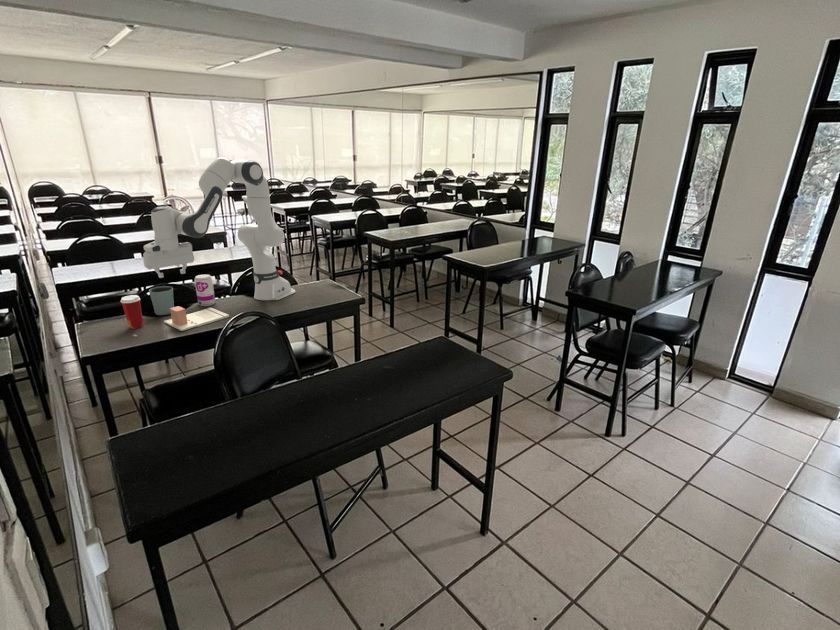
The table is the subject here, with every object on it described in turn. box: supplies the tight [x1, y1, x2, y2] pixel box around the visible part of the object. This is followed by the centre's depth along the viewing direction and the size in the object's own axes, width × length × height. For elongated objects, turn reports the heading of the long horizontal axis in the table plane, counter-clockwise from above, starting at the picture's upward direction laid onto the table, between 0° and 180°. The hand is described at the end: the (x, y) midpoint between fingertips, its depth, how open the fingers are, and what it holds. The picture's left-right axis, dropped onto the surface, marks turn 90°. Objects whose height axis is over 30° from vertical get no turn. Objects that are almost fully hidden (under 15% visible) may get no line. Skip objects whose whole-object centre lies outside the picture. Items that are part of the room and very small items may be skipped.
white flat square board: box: [186, 307, 230, 327], centre depth 221 cm, size 16×16×1 cm
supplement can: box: [194, 273, 216, 307], centre depth 236 cm, size 8×8×15 cm
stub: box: [163, 305, 197, 332], centre depth 211 cm, size 7×16×8 cm, turn 53°
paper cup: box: [119, 294, 144, 330], centre depth 208 cm, size 8×8×14 cm
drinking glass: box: [148, 285, 175, 316], centre depth 225 cm, size 10×10×12 cm
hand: (172, 275), depth 204 cm, fingers open, 8 cm apart
